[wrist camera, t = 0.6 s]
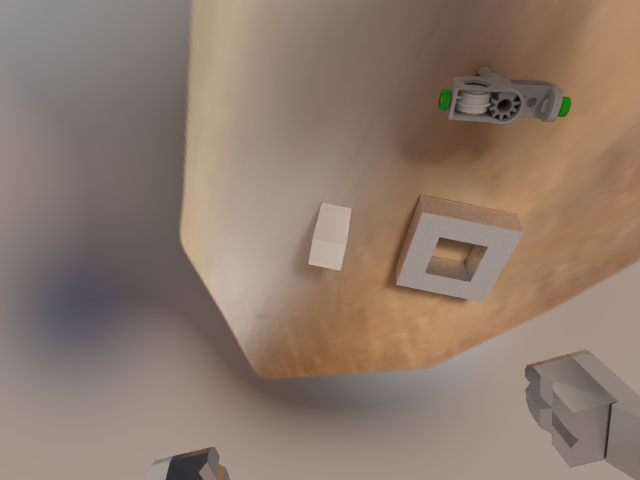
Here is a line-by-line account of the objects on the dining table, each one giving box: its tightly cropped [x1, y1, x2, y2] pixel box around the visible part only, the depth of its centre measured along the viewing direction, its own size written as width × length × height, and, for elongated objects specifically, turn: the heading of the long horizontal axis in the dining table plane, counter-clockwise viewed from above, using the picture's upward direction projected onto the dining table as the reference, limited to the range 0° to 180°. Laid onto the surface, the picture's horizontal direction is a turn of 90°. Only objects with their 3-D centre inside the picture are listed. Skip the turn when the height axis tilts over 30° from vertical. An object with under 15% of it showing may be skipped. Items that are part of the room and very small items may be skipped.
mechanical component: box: [439, 66, 571, 125], centre depth 37 cm, size 3×10×10 cm, turn 89°
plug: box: [308, 203, 352, 271], centre depth 51 cm, size 4×4×8 cm
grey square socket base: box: [396, 195, 524, 302], centre depth 53 cm, size 12×12×4 cm
